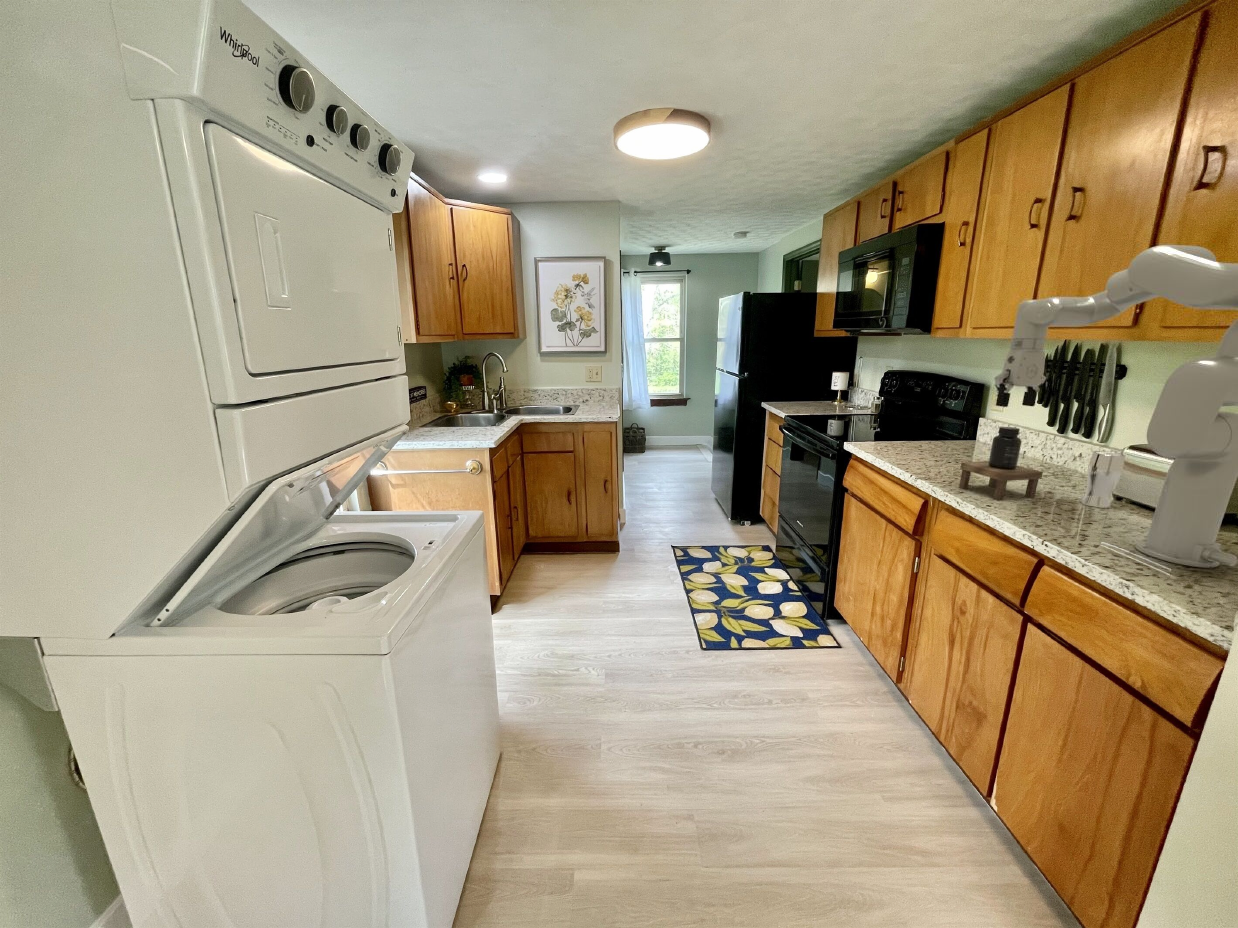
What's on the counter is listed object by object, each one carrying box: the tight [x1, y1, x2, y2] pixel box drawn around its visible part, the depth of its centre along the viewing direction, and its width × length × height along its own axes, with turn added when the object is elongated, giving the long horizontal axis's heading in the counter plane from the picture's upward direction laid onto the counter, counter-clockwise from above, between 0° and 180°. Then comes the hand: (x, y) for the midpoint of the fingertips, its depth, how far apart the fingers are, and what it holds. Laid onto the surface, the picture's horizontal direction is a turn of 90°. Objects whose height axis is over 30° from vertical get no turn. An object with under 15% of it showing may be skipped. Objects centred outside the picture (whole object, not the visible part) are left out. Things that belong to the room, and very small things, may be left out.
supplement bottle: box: [988, 426, 1022, 470], centre depth 149 cm, size 7×7×12 cm
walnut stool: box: [958, 460, 1044, 502], centre depth 151 cm, size 14×14×8 cm
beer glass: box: [1080, 450, 1126, 509], centre depth 141 cm, size 7×7×15 cm
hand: (1014, 406), depth 145 cm, fingers open, 9 cm apart
